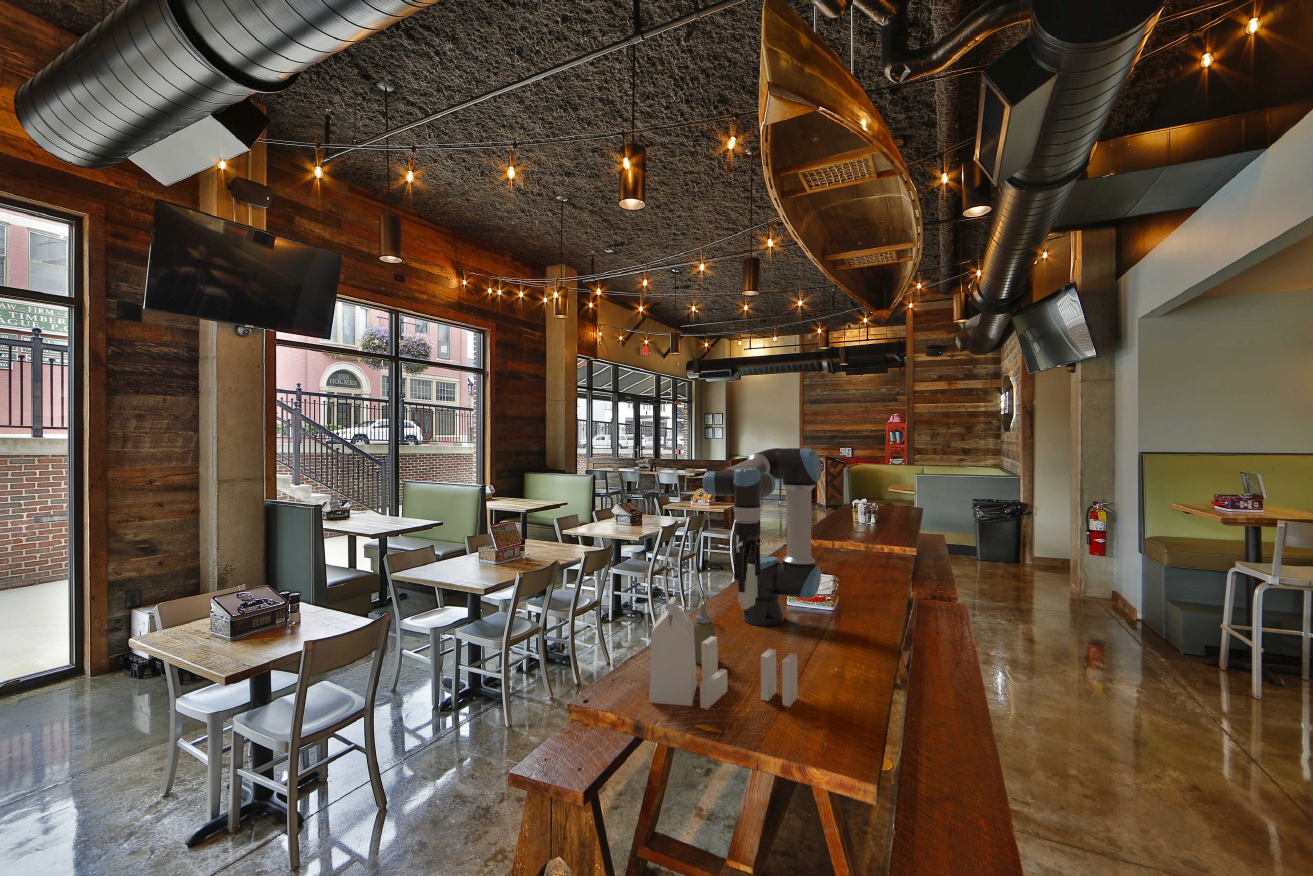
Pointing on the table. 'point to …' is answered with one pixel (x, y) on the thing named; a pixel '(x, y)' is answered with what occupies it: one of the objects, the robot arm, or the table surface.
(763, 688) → the domino
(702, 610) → the squeeze bottle
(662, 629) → the milk
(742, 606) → the domino
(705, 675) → the domino
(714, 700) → the domino
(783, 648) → the table surface
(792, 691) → the domino
